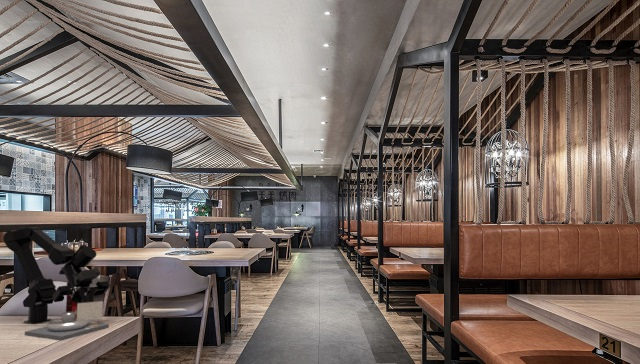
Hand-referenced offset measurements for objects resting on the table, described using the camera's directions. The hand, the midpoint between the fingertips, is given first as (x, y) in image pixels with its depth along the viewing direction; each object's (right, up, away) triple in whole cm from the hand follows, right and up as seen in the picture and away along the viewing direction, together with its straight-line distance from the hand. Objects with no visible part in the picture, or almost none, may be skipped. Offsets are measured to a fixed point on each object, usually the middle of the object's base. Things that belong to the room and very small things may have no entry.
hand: (90, 309), depth 152 cm
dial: (-3, -5, -4) cm, 7 cm away
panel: (-5, -6, -5) cm, 10 cm away
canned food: (-16, -9, +19) cm, 26 cm away
